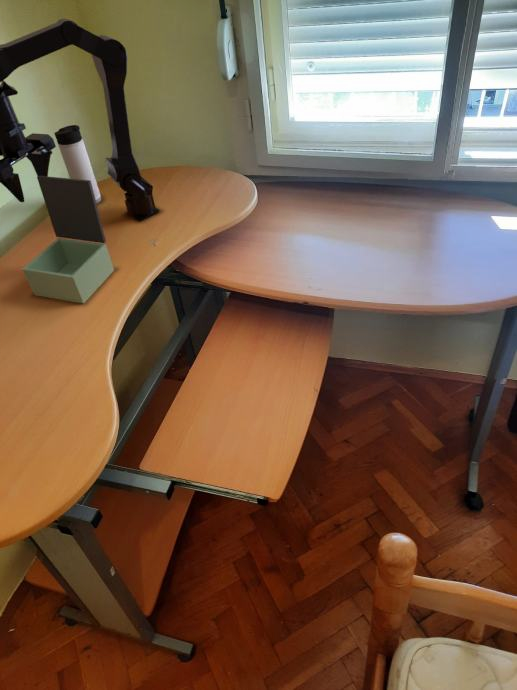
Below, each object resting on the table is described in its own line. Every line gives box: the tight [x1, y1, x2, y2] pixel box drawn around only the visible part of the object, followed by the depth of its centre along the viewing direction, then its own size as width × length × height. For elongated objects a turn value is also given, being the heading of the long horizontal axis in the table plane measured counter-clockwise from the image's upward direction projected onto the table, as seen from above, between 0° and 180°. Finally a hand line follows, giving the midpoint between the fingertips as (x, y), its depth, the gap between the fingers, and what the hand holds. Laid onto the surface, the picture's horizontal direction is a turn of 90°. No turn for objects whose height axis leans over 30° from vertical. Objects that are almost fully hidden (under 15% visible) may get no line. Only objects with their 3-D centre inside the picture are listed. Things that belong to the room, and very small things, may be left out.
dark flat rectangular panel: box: [36, 176, 107, 244], centre depth 97 cm, size 13×12×1 cm
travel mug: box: [54, 124, 102, 205], centre depth 123 cm, size 6×7×20 cm
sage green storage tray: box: [21, 237, 115, 305], centre depth 100 cm, size 12×12×7 cm
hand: (33, 193), depth 106 cm, fingers open, 8 cm apart
